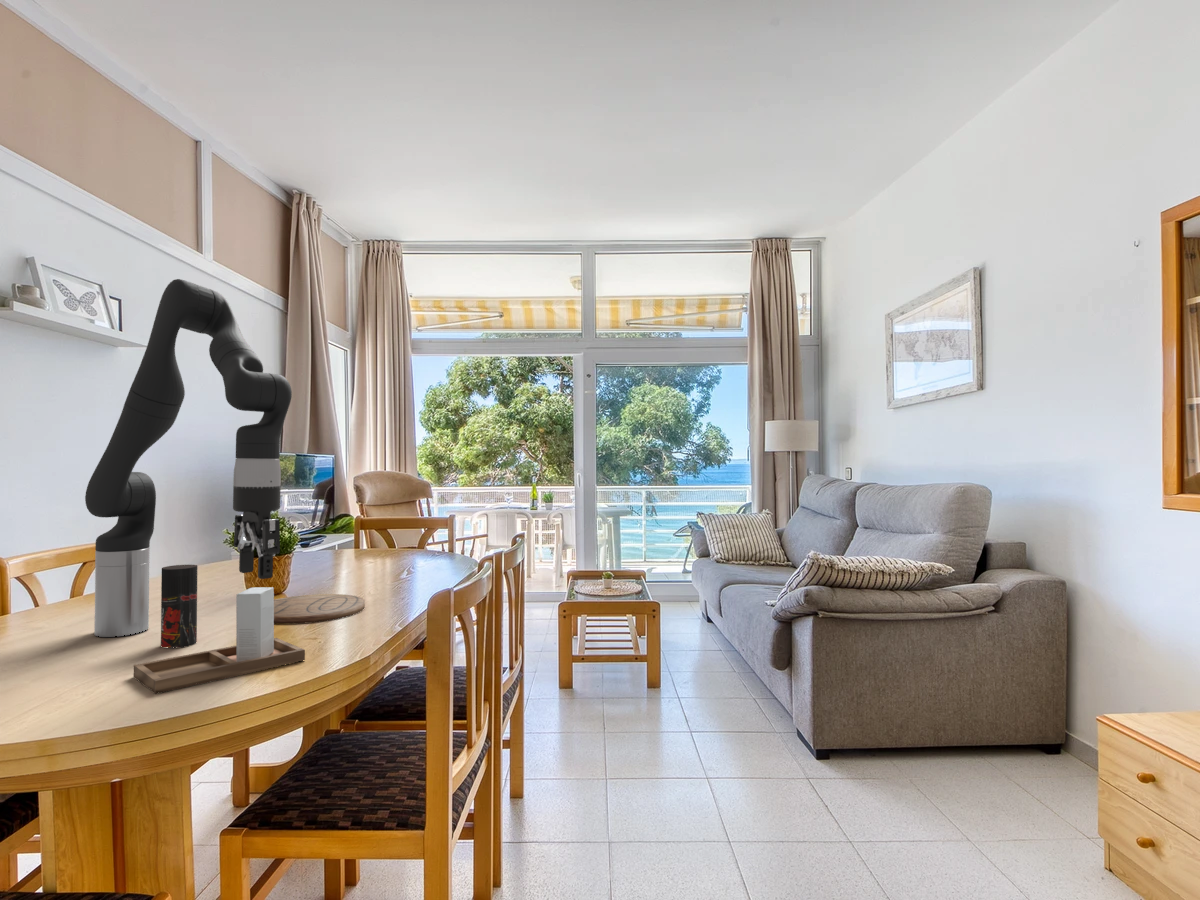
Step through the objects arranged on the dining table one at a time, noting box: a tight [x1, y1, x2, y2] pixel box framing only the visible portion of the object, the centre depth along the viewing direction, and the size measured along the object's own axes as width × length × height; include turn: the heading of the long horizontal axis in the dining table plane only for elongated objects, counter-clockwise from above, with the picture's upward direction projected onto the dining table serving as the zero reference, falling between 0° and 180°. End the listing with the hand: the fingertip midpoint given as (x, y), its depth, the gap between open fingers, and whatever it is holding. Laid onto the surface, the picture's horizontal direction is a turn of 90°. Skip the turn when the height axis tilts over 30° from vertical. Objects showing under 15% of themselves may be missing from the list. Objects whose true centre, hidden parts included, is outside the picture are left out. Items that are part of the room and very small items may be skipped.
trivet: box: [274, 593, 366, 624], centre depth 160 cm, size 25×25×2 cm
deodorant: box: [160, 564, 198, 649], centre depth 131 cm, size 6×6×15 cm
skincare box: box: [235, 586, 275, 662], centre depth 120 cm, size 6×4×12 cm
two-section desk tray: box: [133, 637, 306, 695], centre depth 116 cm, size 12×23×2 cm, turn 138°
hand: (255, 575), depth 120 cm, fingers open, 8 cm apart
